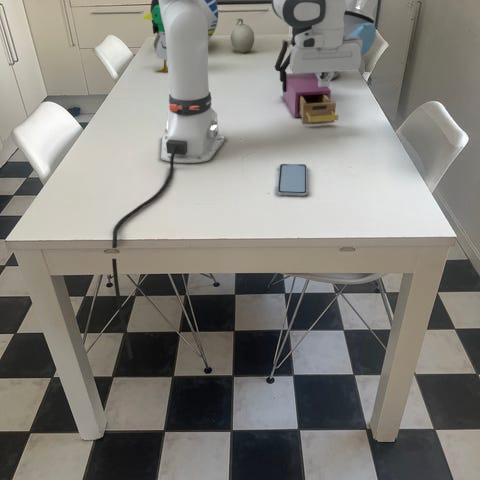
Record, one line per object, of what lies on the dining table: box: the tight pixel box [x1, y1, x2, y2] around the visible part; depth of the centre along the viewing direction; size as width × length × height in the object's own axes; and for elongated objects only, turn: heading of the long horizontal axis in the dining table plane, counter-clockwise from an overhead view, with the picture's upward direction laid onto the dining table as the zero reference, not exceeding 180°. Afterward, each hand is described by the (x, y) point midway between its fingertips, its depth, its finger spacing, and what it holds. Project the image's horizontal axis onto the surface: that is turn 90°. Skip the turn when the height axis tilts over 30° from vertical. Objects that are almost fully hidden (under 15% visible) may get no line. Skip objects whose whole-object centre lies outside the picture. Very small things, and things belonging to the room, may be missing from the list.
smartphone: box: [277, 163, 308, 197], centre depth 132 cm, size 7×1×15 cm
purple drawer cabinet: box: [282, 72, 332, 118], centre depth 174 cm, size 20×11×8 cm, turn 7°
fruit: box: [230, 18, 255, 53], centre depth 228 cm, size 10×12×15 cm
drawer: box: [298, 94, 339, 125], centre depth 164 cm, size 24×10×6 cm, turn 7°
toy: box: [141, 5, 168, 73], centre depth 204 cm, size 8×20×24 cm, turn 69°
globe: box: [149, 0, 219, 41], centre depth 229 cm, size 30×30×30 cm
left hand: (323, 86), depth 151 cm, fingers closed
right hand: (301, 89), depth 179 cm, fingers closed on purple drawer cabinet, 11 cm apart
